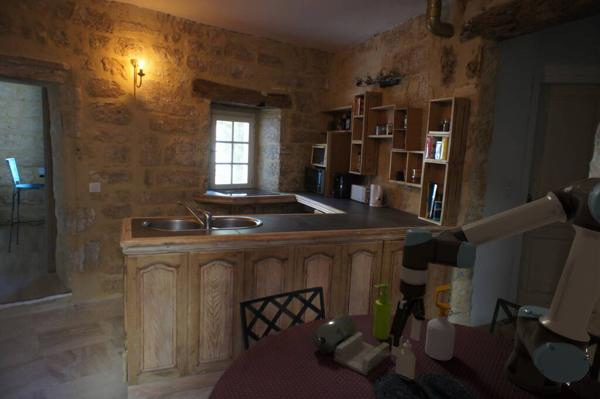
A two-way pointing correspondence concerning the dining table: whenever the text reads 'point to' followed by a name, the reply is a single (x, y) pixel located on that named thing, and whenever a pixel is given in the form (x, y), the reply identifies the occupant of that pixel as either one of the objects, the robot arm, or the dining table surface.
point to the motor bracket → (348, 345)
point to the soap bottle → (440, 331)
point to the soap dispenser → (382, 314)
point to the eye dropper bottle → (406, 362)
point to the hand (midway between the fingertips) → (405, 347)
